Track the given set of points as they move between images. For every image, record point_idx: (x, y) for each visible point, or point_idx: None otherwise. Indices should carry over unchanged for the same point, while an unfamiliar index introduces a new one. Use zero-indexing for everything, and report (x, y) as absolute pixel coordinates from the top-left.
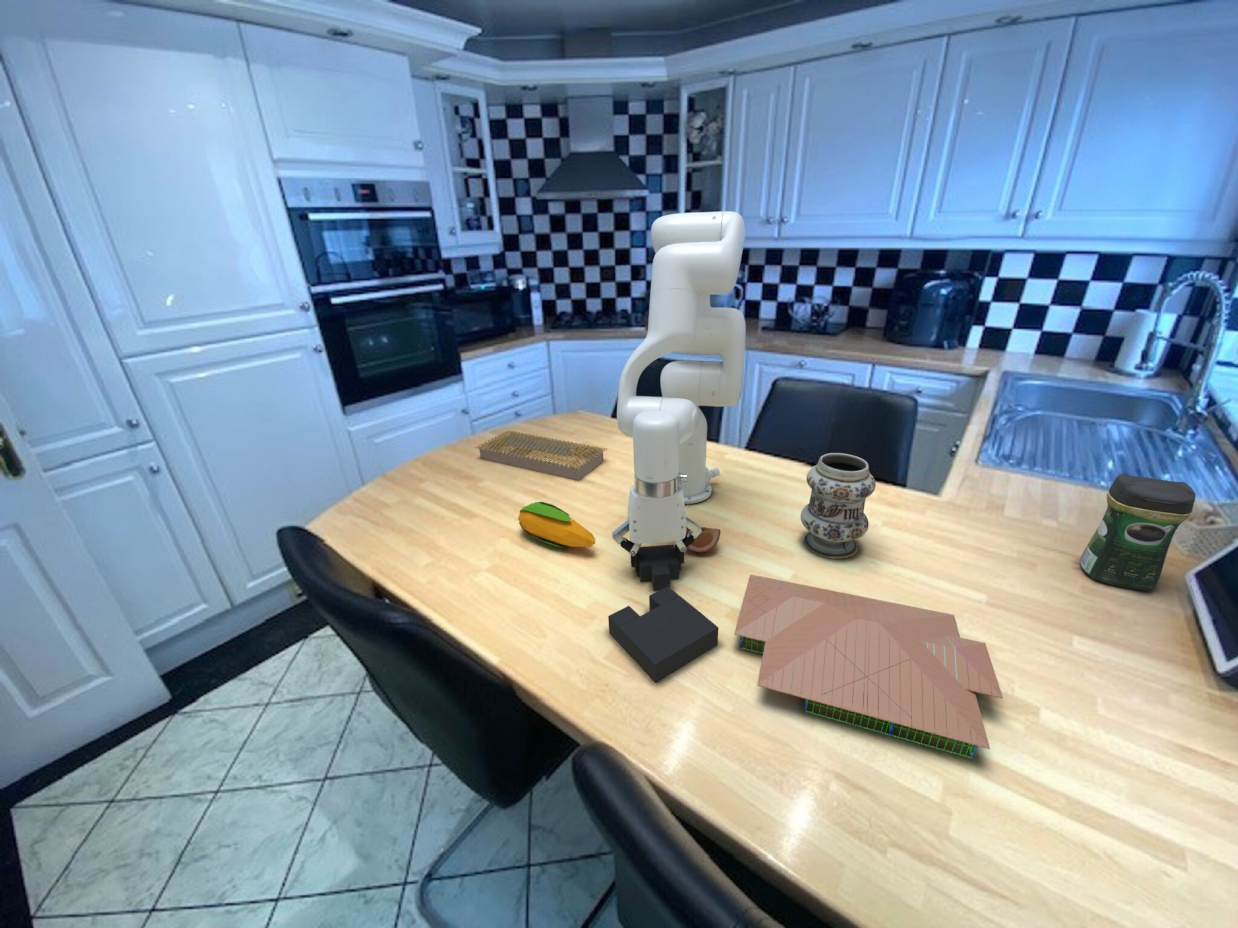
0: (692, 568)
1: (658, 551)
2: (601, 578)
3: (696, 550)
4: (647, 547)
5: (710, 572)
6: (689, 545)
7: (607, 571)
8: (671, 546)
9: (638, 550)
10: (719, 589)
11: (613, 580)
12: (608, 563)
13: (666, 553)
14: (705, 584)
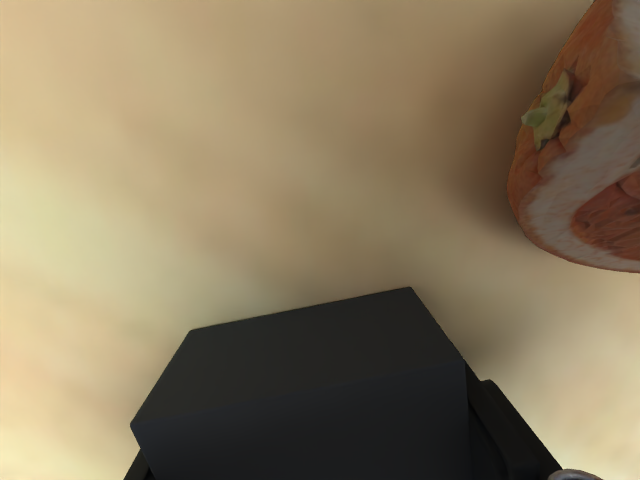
0: (512, 353)
1: (331, 462)
2: (33, 465)
3: (601, 265)
4: (229, 424)
5: (600, 375)
6: (576, 245)
7: (42, 416)
8: (445, 392)
9: (158, 463)
10: (604, 475)
11: (102, 471)
12: (16, 354)
13: (396, 474)
14: (551, 453)
